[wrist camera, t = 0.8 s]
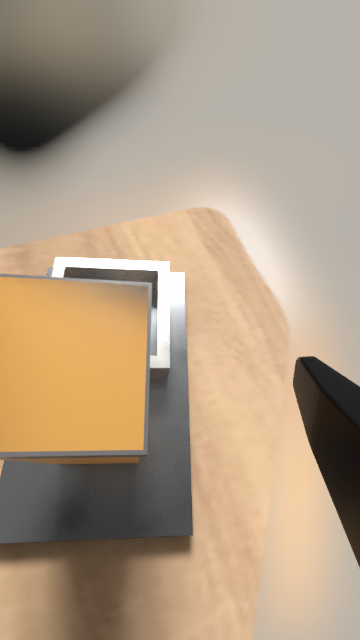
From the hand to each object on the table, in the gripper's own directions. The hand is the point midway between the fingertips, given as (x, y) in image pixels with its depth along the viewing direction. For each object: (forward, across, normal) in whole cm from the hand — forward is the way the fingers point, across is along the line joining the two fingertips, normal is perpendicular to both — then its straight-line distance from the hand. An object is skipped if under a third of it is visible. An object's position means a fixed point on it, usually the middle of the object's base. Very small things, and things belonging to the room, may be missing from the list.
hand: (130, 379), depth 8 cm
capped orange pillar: (+6, +4, +9) cm, 12 cm away
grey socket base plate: (+10, +5, +9) cm, 14 cm away
